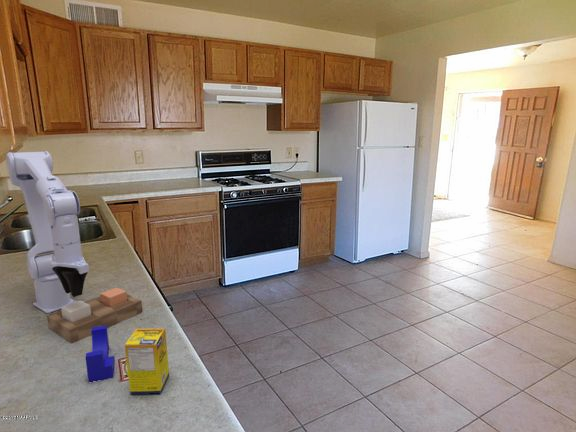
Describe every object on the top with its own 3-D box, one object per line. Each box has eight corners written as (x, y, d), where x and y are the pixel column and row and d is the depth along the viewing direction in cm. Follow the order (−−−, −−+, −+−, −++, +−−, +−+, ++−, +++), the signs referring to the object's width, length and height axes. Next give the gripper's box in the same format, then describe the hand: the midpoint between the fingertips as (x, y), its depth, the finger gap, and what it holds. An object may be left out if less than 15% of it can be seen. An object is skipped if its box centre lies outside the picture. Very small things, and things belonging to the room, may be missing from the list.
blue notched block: (113, 378, 76) (110, 352, 75) (88, 383, 75) (85, 357, 73) (116, 347, 87) (113, 324, 86) (94, 351, 86) (92, 327, 84)
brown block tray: (48, 327, 95) (46, 315, 94) (118, 300, 110) (117, 289, 110) (71, 343, 88) (69, 329, 88) (142, 312, 104) (141, 300, 103)
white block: (62, 319, 94) (61, 307, 94) (82, 312, 98) (80, 300, 97) (72, 325, 92) (70, 312, 91) (91, 317, 95) (90, 305, 95)
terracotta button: (101, 305, 102) (100, 293, 101) (117, 298, 106) (116, 287, 105) (110, 309, 100) (109, 297, 99) (127, 303, 103) (126, 291, 103)
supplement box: (169, 374, 77) (165, 327, 75) (161, 394, 72) (156, 344, 69) (140, 375, 77) (136, 327, 75) (129, 395, 71) (124, 344, 69)
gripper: (35, 240, 91) (43, 291, 94) (63, 251, 83) (71, 307, 86) (65, 234, 97) (72, 282, 100) (94, 244, 89) (101, 296, 92)
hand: (73, 293), depth 93 cm, fingers open, 3 cm apart
